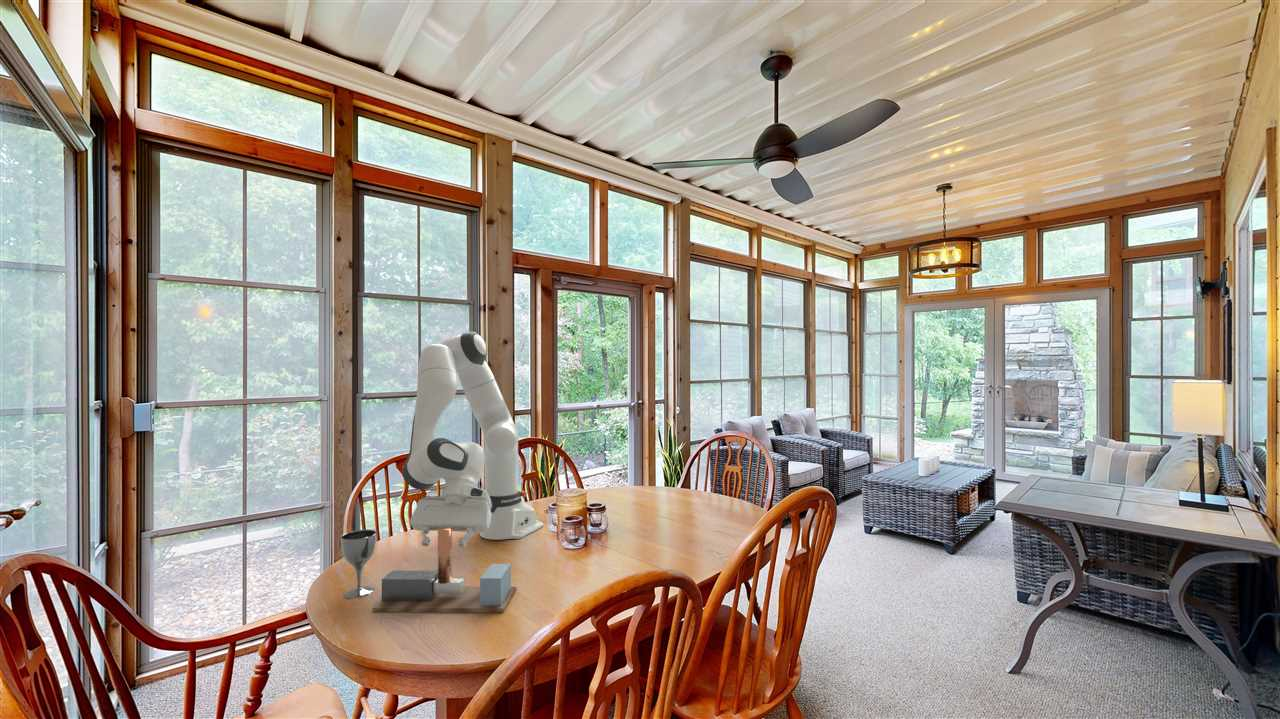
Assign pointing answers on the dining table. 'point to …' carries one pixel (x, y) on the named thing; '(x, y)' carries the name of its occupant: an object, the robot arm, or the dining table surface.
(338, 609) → the dining table surface
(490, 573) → the socket block
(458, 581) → the upright copper peg
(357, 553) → the wine glass
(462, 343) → the robot arm
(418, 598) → the graphite sleeve
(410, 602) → the walnut board
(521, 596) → the dining table surface
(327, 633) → the dining table surface
